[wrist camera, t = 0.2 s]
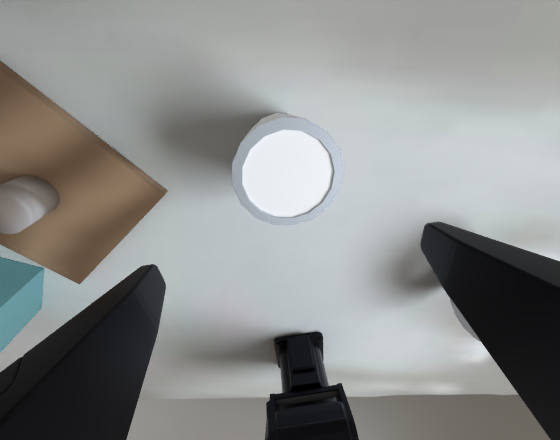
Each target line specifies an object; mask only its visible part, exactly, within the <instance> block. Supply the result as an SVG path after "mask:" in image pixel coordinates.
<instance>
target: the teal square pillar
mask: <svg viewBox="0 0 560 440" xmlns="http://www.w3.org/2000/svg"><path fill="white" fill-rule="evenodd" d="M43 274H44V268H40V267H36V266H32V265H29V264H25V263H21V262H17V261H13V260H9V259H5V258H1V257H0V352H1V351H2V350H3V349H4V348H5V347H6V346H7V345H8V344H9V343H10V342H11V341H12V339H13V338H14V337H15V336H16V335H17V334H18V333H19V332H20V331H21V330H22V329H23V328H24V327H25V325H26V324H27V323H28V322H29V321H30V320H31V319H32V318H33V317H34V316H35V315H36V314H37V313H38V311H39V310H40V309H41V305H42V289H43Z"/></svg>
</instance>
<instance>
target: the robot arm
mask: <svg viewBox="0 0 560 440" xmlns="http://www.w3.org/2000/svg"><path fill="white" fill-rule="evenodd" d="M421 249H422V251H423V253H424V255H425V257H426V259H427V260H428V262H429V264H430V266H431V267H432V269H433V271H434V273H435V275H436V276H437V278H438V280H439V282H440V283H441V285H442V287H443V288H444V290H445V291H446V293H447V294H448V296H449V297H450V299H451V300H452V301H453V303H454V304H455V306H456V307H457V308H458V310H459V311H460V313H461V314H462V315H463V317H464V318H465V320H466V321H467V322H468V324H469V325H470V327H471V328H472V329H473V331H474V332H475V334H476V335H477V337H478V338H479V339H480V341H481V342H482V344H483V345H484V346H485V348H486V349H487V351H488V352H489V353H490V355H491V356H492V358H493V359H494V360H495V362H496V363H497V365H498V366H499V367H500V369H501V370H502V372H503V373H504V374H505V376H506V377H507V379H508V380H509V382H510V383H511V384H512V386H513V387H514V389H515V390H516V391H517V393H518V394H519V396H520V397H521V398H522V400H523V401H524V402H525V404H526V405H527V407H528V408H529V409H530V411H531V412H532V414H533V415H534V417H535V418H536V419H537V421H538V422H539V424H540V425H541V427H542V428H543V429H544V431H545V432H546V433H547V435H548V436H549V438H550V439H551V440H560V261H557V260H554V259H551V258H548V257H545V256H542V255H539V254H536V253H533V252H530V251H527V250H524V249H521V248H518V247H515V246H511V245H508V244H505V243H502V242H499V241H496V240H493V239H490V238H487V237H484V236H481V235H478V234H475V233H472V232H469V231H466V230H463V229H460V228H457V227H454V226H451V225H448V224H445V223H442V222H433V223H427V224H426V225H425V226H424V230H423V234H422V239H421ZM165 290H166V284H165V281H164V279H163V277H162V275H161V273H160V271H159V269H158V267H157V266H156V265H154V264H151V265H145V266H141V267H140V268H138V269H137V270H136V271H134V272H133V273H132V274H130V275H129V276H128V277H126V278H125V279H124V280H122V281H121V282H120V283H118V284H117V285H116V286H114V287H113V288H112V289H110V290H109V291H108V292H106V293H105V294H104V295H102V296H101V297H100V298H99V299H97V300H96V301H95V302H93V303H92V304H91V305H89V306H88V307H87V308H85V309H84V310H83V311H81V312H80V313H79V314H77V315H76V316H75V317H73V318H72V319H71V320H69V321H68V322H67V323H65V324H64V325H63V326H61V327H60V328H59V329H57V330H56V331H55V332H53V333H52V334H51V335H49V336H48V337H47V338H45V339H44V340H43V341H41V342H40V343H39V344H37V345H36V346H35V347H33V348H32V349H31V350H29V351H28V352H27V353H25V354H24V356H23V357H20V358H19V359H17V360H16V361H15V362H13V363H12V364H11V365H9V366H8V367H7V368H6V369H4V370H3V371H1V372H0V440H126V439H127V435H128V432H129V429H130V425H131V422H132V418H133V415H134V411H135V408H136V405H137V401H138V398H139V395H140V391H141V388H142V384H143V381H144V378H145V374H146V371H147V367H148V364H149V361H150V357H151V354H152V350H153V347H154V344H155V340H156V337H157V333H158V328H159V323H160V318H161V312H162V307H163V301H164V295H165ZM274 344H275V350H276V355H277V361H278V366H279V368H280V369H281V380H282V392H283V393H280V394H270V401H268V402H267V403H266V404H267V405H266V406H267V423H266V435H265V440H359V439H358V435H357V430H356V426H355V422H354V419H353V416H352V413H351V410H350V407H349V404H348V401H347V398H346V395H345V392H344V389H343V386H342V383H339V384H337V385H332V386H329V385H328V381H327V376H326V372H325V368H324V363H323V336H322V333H312V334H305V335H297V336H290V337H283V338H276V339H275V340H274Z"/></svg>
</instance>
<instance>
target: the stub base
mask: <svg viewBox="0 0 560 440" xmlns="http://www.w3.org/2000/svg"><path fill="white" fill-rule="evenodd" d="M166 192H167V190H166V189H165V188H163V187H162V186H161V185H160V184H158V183H157V182H156V181H154V180H153V179H152V178H151V177H149V176H148V175H147V174H145V173H144V172H143V171H142V170H140V169H139V168H138V167H136V166H135V165H134V164H133V163H131V162H130V161H129V160H127V159H126V158H125V157H124V156H122V155H121V154H120V153H118V152H117V151H116V150H115V149H113V148H112V147H111V146H109V145H108V144H107V143H106V142H104V141H103V140H102V139H100V138H99V137H98V136H97V135H95V134H94V133H93V132H91V131H90V130H89V129H88V128H86V127H85V126H84V125H82V124H81V123H80V122H78V121H77V120H76V119H75V118H73V117H72V116H71V115H69V114H68V113H67V112H66V111H64V110H63V109H62V108H60V107H59V106H58V105H57V104H55V103H54V102H53V101H51V100H50V99H49V98H48V97H46V96H45V95H44V94H42V93H41V92H40V91H39V90H37V89H36V88H35V87H33V86H32V85H31V84H30V83H28V82H27V81H26V80H24V79H23V78H22V77H21V76H19V75H18V74H17V73H15V72H14V71H13V70H12V69H10V68H9V67H8V66H6V65H5V64H4V63H3V62H1V61H0V244H1V245H3V246H5V247H7V248H9V249H11V250H13V251H15V252H17V253H19V254H21V255H23V256H25V257H27V258H29V259H31V260H33V261H35V262H37V263H38V264H40V265H42V266H44V267H46V268H48V269H50V270H52V271H54V272H56V273H58V274H60V275H62V276H64V277H66V278H68V279H70V280H72V281H74V282H76V283H78V284H80V283H81V282H82V281H83V280H84V279H85V278H86V277H87V276H88V275H89V274H90V273H91V272H92V271H93V270H94V269H95V268H96V267H97V265H98V264H99V263H100V262H101V261H102V260H103V259H104V258H105V257H106V256H107V255H108V254H109V253H110V252H111V251H112V250H113V249H114V248H115V247H116V245H117V244H118V243H119V242H120V241H121V240H122V239H123V238H124V237H125V236H126V235H127V234H128V233H129V232H130V231H131V230H132V229H133V228H134V227H135V226H136V224H137V223H138V222H139V221H140V220H141V219H142V218H143V217H144V216H145V215H146V214H147V213H148V212H149V211H150V210H151V209H152V208H153V207H154V206H155V204H156V203H157V202H158V201H159V200H160V199H161V198H162V197H163V196H164V195H165V194H166Z"/></svg>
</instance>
